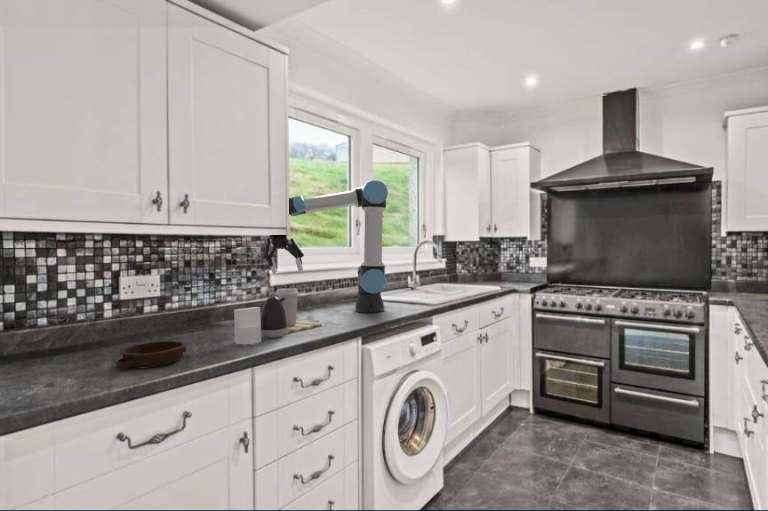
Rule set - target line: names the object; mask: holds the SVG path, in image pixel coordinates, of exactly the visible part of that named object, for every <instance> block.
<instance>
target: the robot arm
mask: <svg viewBox="0 0 768 511" xmlns="http://www.w3.org/2000/svg"><path fill="white" fill-rule="evenodd" d="M388 194H389V192H388V187H387V185H386V184H385V182H383V181H382V180H380V179H370V180H368V181H366V183H365V184H364V185H362V186H360V187H355V188H353V189H352V190H349V191H344V192H338V193H331V194H324V195H319V196H313V197H306V198H303V196H302V195H298V196H297V195H296V196H292V197H290V198H288V199H289V215H288V216H291V217H297V216H301V215H305V214H312V213H318V212H324V211H330V210H336V209H342V208H349V207H354V206H355V207H356V208H361V209H362V210H363V211H364V244H363V247H364V250H363V254H364V255H363V262H362V263H361V264H360V266H358V267H357V271H356V272H357V290H358V292H357V294H358V295H357V298H356V302H355V306H354V311H355V312H356V313H357V312H358V313H379V312H384V311H385V304H384V301H383V298H382V291H383V290H384V288H385V286H386V284H387V277H386V274H385V272H386V270H385V269H386V265H385V263H383V261H382V260H383V221H384V220H383V219H384V218H383V217H384V216H383V215H384V214H383V212H384V211H386V209H387V197H388V196H389V195H388ZM287 236H288V235H270V236H269V237H268V238H266V239H265V241H264V243H265V245H264V251H263V254H262V259H263V260H265V261H266V262H267V263H268V266H269V267H270V269H271V273H272V275H275V274H276V273H277V272H278V269H277V265H276V262H275V258H274V257H273V256H274V254H275V252H276V250H285V251H287V252H289V254H291V256H292V257H294V258H295V264H296V268H297V271H298V273H299V274H301V273H302V272H303V271H304V268H303V261H302V258H303V257H304V256H305V255H304V253H303V252H302V250H301V249H300V247H299V246H298V245H297V244H296V242H295V239H294V238H291V239H288V238H287ZM271 244H272V245H273V246H272V247H271ZM270 248H271V250H270Z"/></svg>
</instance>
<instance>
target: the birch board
mask: <svg viewBox="0 0 768 511" xmlns="http://www.w3.org/2000/svg"><path fill="white" fill-rule="evenodd" d="M322 326H323V323H321V322H313V321H312V322H311V321H303V320H296V325H294V326H287V328H286V332H285V334H284V335H289V334H292V333H298V332H302V331H306V330H310V329H315V328H318V327H319V328H320V327H322Z"/></svg>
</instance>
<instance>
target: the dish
mask: <svg viewBox="0 0 768 511" xmlns="http://www.w3.org/2000/svg"><path fill="white" fill-rule="evenodd" d="M187 345H188V343H186V342H183V341H177V340H175V341H174V340H173V341H172V340H169V341H166V340H165V341H164V340H162V341H161V340H160V341H151V342H150V341H149V342H144V343H139V344H138V343H137V344H134V345H130V346H127V347H125V348H121V350H120V351H119V353H120V354H121V355H122V357H121V358H120V359H118V360H117V361H116V362H115V367H116V368H117V369H128V368H132V367H137V368H136V369H140V368H139V367H152V368H155V367H154V366H159V367H161V366H160V365H164V366H166V365H165V364H168V365H170V364H169V363H171V364H174V363H176V362H178V361H180V359H182V356H183V354H184V353H185V352H187V350H188V348H187ZM173 362H174V363H173Z"/></svg>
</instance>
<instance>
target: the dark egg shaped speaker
mask: <svg viewBox="0 0 768 511" xmlns="http://www.w3.org/2000/svg"><path fill="white" fill-rule="evenodd" d="M284 300H285V298H284V297H283V298H281V299H278V298H277V296H270V297H268V298H267V299H266V300H265V302H264V304H263V305H262V306H263V307H262V309H261V311H260V321H261V335H262V336H264V338H267V339H279V338H282V336H284V335H286V334H285V332H286V328H287V318H286V313H285V310H284V307H283V305H282V303H281V302H283V301H284Z"/></svg>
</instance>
